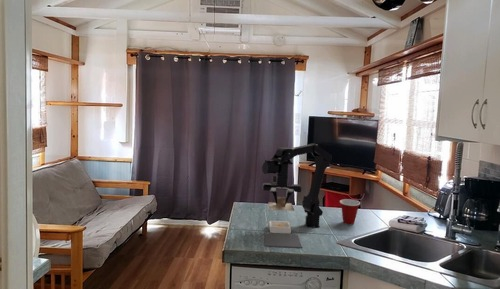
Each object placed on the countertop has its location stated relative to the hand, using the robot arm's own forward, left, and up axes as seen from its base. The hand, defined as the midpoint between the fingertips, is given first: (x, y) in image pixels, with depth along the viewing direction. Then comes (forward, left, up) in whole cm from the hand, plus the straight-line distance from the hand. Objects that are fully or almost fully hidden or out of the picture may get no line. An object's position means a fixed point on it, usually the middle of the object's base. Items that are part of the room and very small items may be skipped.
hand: (280, 204), depth 182 cm
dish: (0, 0, -13) cm, 13 cm away
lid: (0, 0, -1) cm, 1 cm away
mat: (0, +16, -13) cm, 21 cm away
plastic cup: (-39, -18, -13) cm, 45 cm away
